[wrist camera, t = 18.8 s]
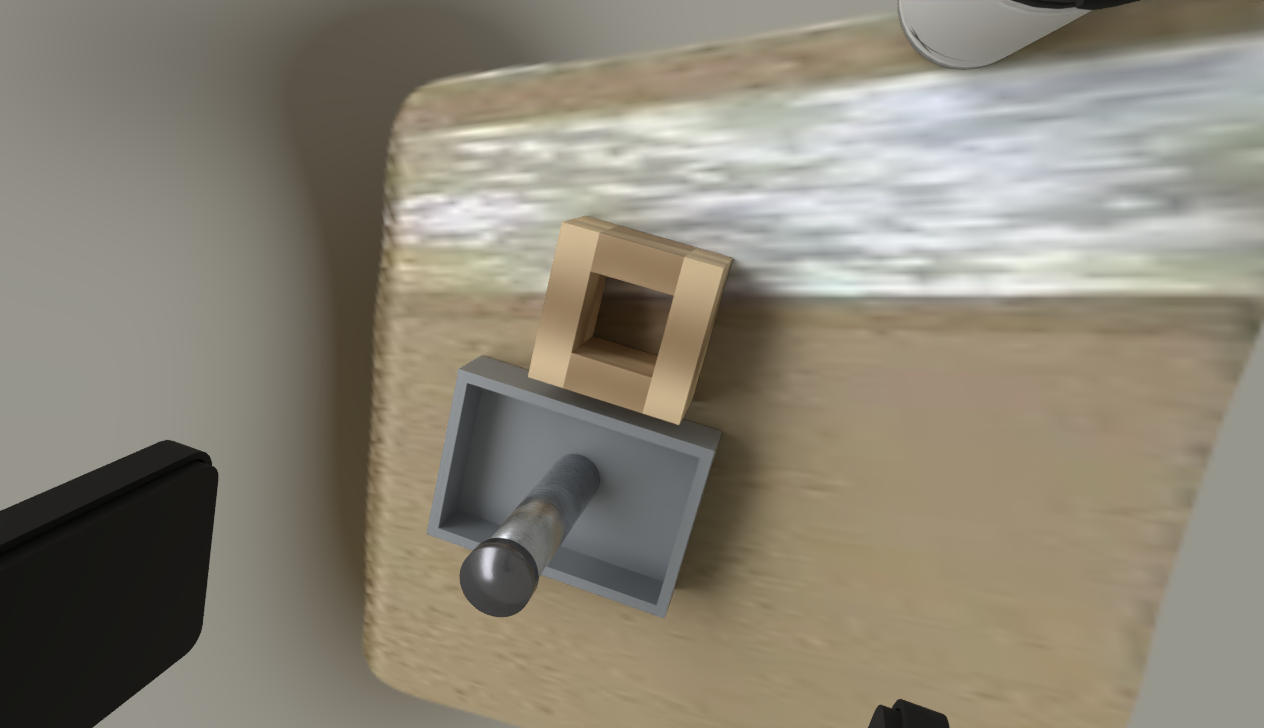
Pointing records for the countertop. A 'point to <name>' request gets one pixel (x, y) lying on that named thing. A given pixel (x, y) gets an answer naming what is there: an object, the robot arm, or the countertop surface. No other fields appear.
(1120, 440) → the countertop surface
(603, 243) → the block
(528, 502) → the cylinder
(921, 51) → the travel mug
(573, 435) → the tray
